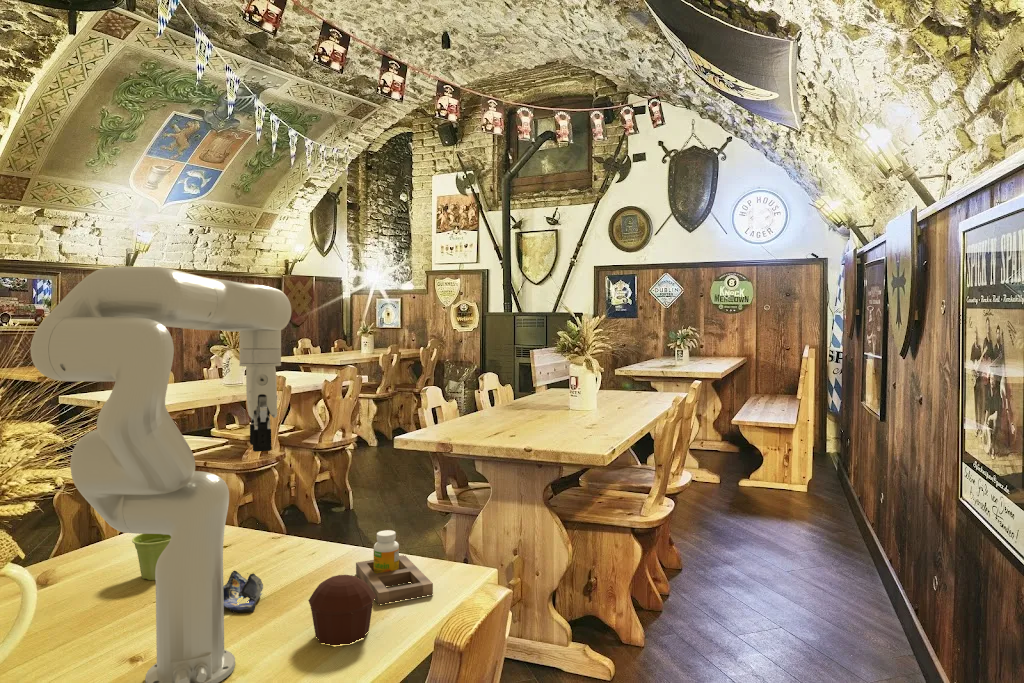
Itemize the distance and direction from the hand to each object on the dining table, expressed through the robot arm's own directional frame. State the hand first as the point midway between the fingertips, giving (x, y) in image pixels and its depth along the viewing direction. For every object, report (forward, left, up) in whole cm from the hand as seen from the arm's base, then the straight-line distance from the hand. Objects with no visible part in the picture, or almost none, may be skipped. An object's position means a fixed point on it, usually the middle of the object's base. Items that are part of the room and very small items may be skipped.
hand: (260, 447), depth 131 cm
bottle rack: (0, -26, -31) cm, 40 cm away
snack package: (+4, +3, -31) cm, 32 cm away
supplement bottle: (+4, -26, -31) cm, 41 cm away
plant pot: (+28, +19, -31) cm, 46 cm away
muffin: (-19, -11, -31) cm, 38 cm away
